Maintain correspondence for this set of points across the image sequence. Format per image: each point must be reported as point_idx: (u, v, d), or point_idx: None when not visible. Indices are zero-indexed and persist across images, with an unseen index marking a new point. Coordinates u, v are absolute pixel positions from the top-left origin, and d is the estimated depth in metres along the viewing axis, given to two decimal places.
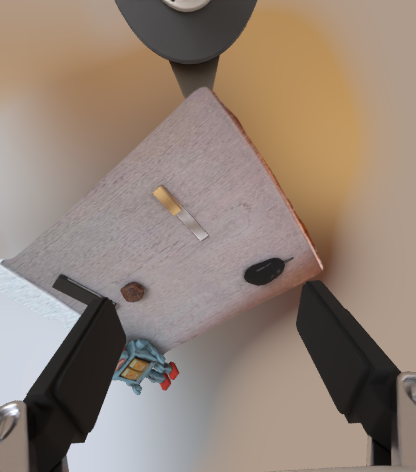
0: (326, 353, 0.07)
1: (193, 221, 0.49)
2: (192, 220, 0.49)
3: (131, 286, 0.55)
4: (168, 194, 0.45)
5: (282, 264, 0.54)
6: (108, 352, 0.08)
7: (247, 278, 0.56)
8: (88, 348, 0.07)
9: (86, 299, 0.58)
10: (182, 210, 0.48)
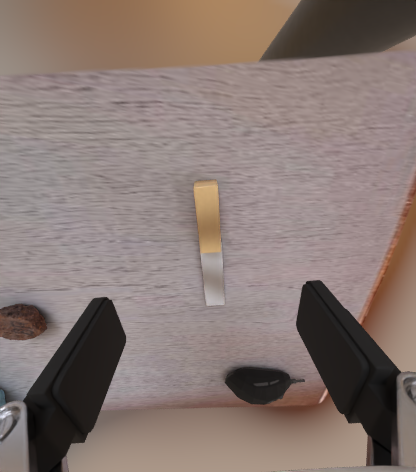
0: (326, 353, 0.07)
1: (219, 273, 0.25)
2: (219, 271, 0.24)
3: (20, 319, 0.24)
4: None
5: (288, 386, 0.35)
6: (108, 352, 0.08)
7: (231, 383, 0.34)
8: (88, 348, 0.07)
9: None
10: None
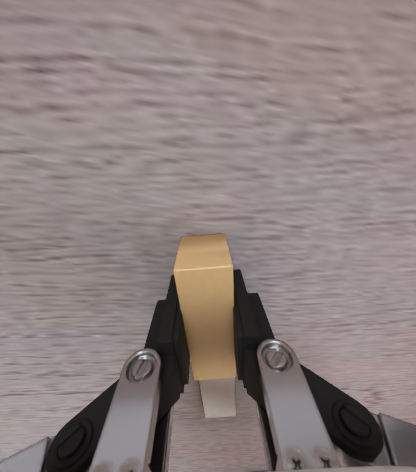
0: None
1: (228, 379, 0.14)
2: None
3: None
4: None
5: None
6: None
7: None
8: None
9: None
10: None
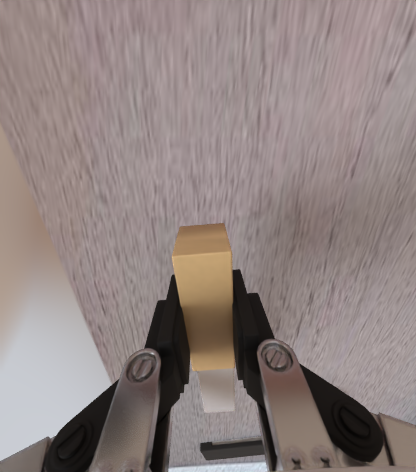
0: (233, 330, 0.09)
1: (227, 373, 0.14)
2: (227, 370, 0.14)
3: None
4: None
5: None
6: None
7: None
8: None
9: (259, 451, 0.33)
10: None
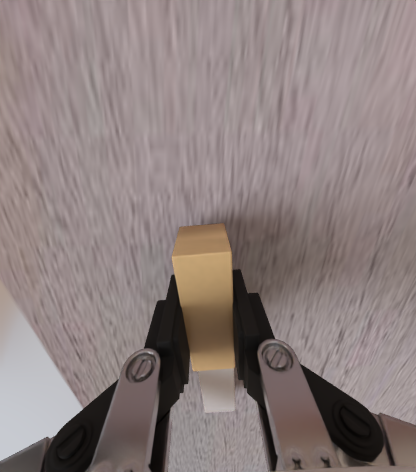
0: (233, 330, 0.09)
1: (228, 373, 0.14)
2: (227, 370, 0.14)
3: None
4: None
5: None
6: None
7: None
8: None
9: None
10: None
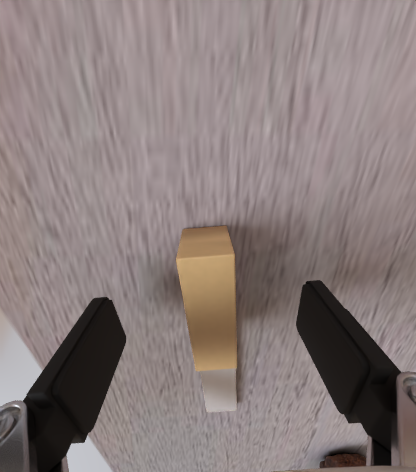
0: (326, 353, 0.07)
1: (229, 373, 0.14)
2: (229, 370, 0.14)
3: None
4: None
5: None
6: (108, 352, 0.08)
7: None
8: (88, 348, 0.07)
9: None
10: None
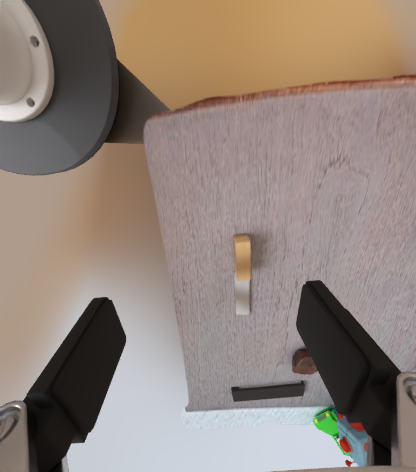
0: (326, 353, 0.07)
1: (247, 292, 0.36)
2: (246, 291, 0.35)
3: (300, 361, 0.40)
4: None
5: None
6: (108, 352, 0.08)
7: None
8: (88, 348, 0.07)
9: (271, 394, 0.48)
10: None
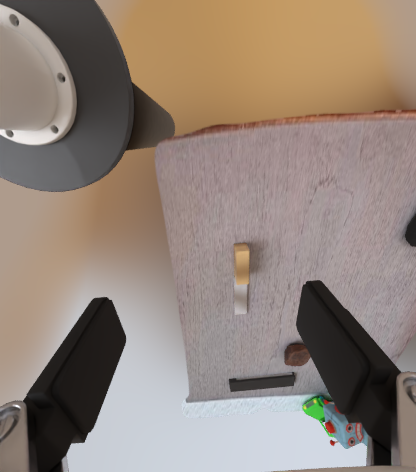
0: (326, 353, 0.07)
1: (244, 294, 0.39)
2: (244, 293, 0.39)
3: (291, 355, 0.44)
4: None
5: None
6: (108, 352, 0.08)
7: None
8: (88, 348, 0.07)
9: (265, 385, 0.53)
10: None
